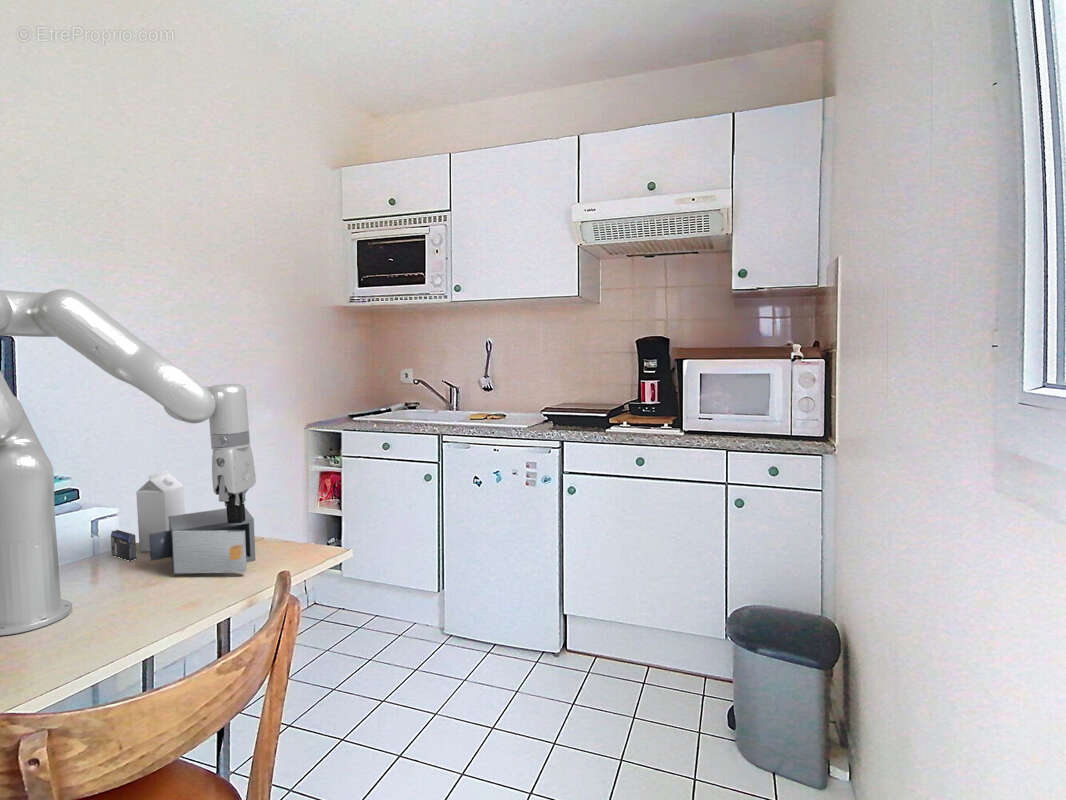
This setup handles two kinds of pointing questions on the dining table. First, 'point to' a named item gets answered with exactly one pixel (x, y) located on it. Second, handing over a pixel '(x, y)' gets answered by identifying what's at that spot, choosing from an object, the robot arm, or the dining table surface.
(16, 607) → the robot arm
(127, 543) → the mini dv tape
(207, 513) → the grey cabinet
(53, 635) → the dining table surface
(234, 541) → the door
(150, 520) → the milk carton
